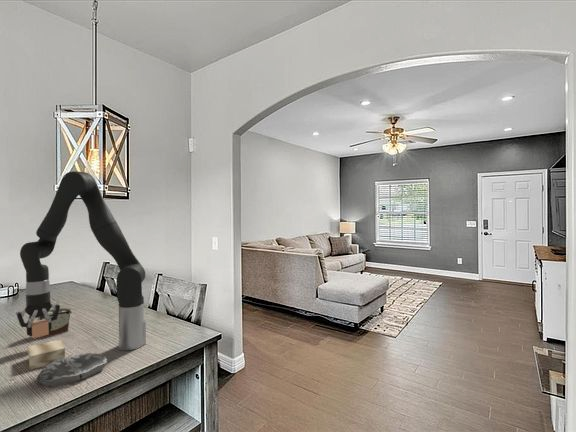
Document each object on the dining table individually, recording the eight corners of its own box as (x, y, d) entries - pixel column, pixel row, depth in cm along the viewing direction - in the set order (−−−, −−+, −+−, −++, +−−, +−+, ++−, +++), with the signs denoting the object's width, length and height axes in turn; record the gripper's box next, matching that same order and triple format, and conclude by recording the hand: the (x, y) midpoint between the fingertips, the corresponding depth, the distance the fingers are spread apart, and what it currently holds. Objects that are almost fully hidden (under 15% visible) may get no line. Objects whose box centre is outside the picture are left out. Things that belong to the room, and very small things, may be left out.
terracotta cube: (45, 331, 128) (45, 319, 128) (48, 334, 125) (48, 322, 124) (30, 334, 124) (29, 322, 124) (32, 338, 121) (32, 325, 121)
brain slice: (95, 355, 121) (95, 347, 120) (112, 371, 109) (112, 363, 109) (30, 375, 106) (30, 367, 106) (42, 396, 95) (42, 387, 94)
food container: (67, 327, 146) (67, 306, 146) (71, 330, 142) (71, 309, 142) (34, 335, 137) (34, 312, 136) (38, 339, 133) (37, 316, 133)
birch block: (61, 351, 123) (61, 339, 123) (64, 361, 116) (64, 348, 115) (28, 359, 116) (28, 346, 116) (29, 370, 109) (29, 356, 109)
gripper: (16, 297, 116) (17, 342, 117) (62, 289, 127) (63, 330, 127) (12, 293, 121) (14, 336, 121) (57, 286, 132) (58, 325, 132)
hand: (39, 333), depth 124 cm, fingers closed on terracotta cube, 5 cm apart
